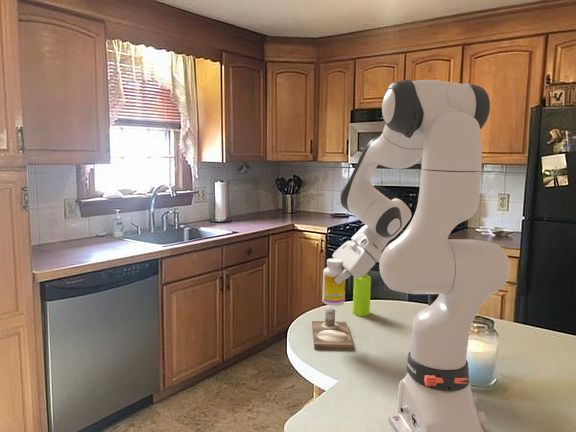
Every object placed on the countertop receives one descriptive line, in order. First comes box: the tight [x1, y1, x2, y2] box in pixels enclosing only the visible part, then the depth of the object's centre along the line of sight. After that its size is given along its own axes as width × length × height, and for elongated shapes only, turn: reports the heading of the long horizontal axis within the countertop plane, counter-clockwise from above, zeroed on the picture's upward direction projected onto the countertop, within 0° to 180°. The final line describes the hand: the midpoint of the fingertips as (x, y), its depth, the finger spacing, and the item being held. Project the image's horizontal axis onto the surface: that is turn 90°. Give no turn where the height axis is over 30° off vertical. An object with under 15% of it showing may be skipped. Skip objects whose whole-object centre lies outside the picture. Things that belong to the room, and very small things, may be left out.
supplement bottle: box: [321, 257, 347, 307], centre depth 136 cm, size 7×7×13 cm
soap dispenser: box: [352, 271, 372, 317], centre depth 162 cm, size 6×7×20 cm
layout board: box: [311, 308, 354, 351], centre depth 141 cm, size 18×11×6 cm, turn 179°
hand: (332, 278), depth 136 cm, fingers closed on supplement bottle, 7 cm apart
